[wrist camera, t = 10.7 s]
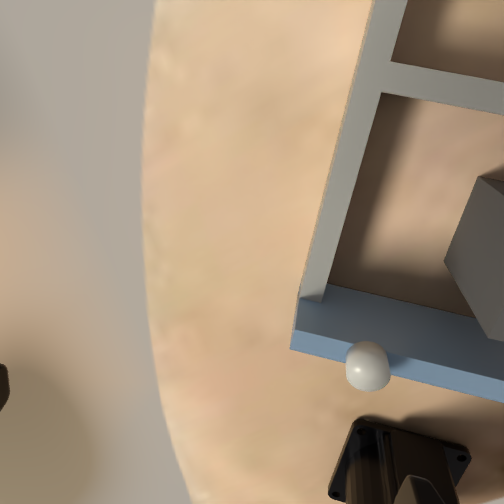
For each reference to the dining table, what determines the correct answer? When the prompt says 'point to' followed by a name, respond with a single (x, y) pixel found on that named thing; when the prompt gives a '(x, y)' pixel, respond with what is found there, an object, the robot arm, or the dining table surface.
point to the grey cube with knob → (481, 255)
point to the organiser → (374, 306)
